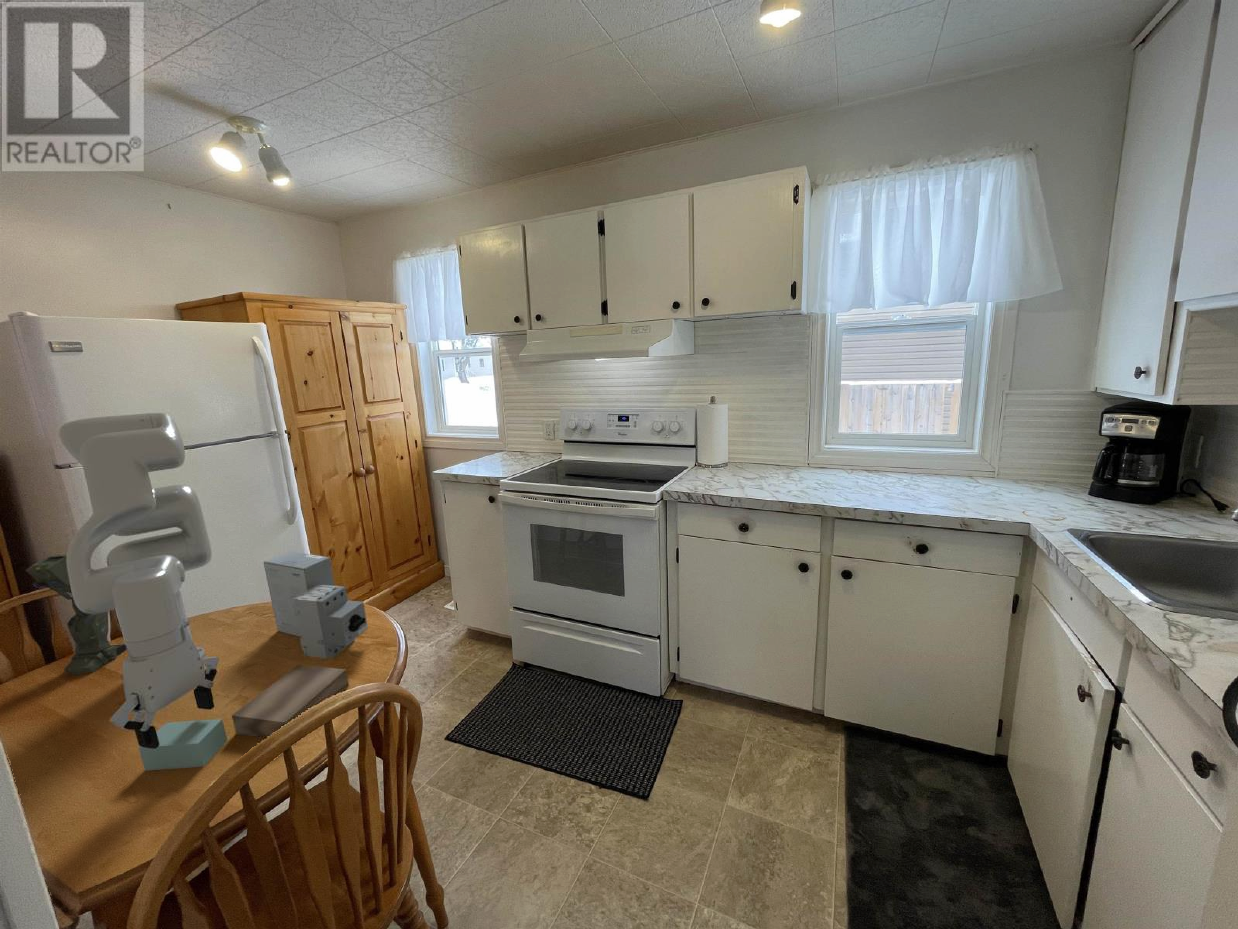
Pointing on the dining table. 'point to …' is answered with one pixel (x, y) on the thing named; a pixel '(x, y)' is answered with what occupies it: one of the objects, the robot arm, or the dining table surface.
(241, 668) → the dining table surface
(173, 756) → the light teal rectangular block
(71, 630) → the mechanical leg
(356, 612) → the circuit breaker
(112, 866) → the dining table surface
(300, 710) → the stand
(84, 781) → the dining table surface
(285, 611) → the grey switch module
